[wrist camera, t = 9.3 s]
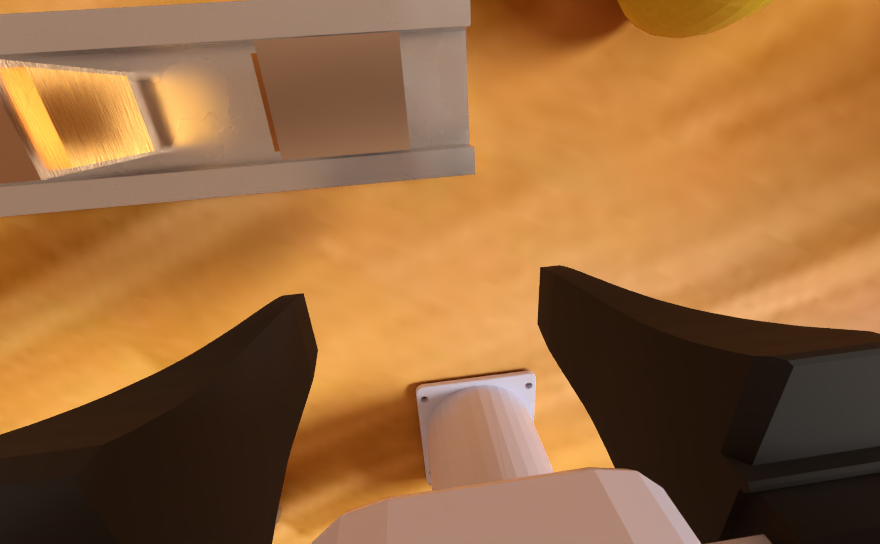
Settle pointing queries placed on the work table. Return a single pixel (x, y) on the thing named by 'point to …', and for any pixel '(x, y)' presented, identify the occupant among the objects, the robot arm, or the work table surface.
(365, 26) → the rail
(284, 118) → the brown rectangular block
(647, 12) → the lemon
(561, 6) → the work table surface
